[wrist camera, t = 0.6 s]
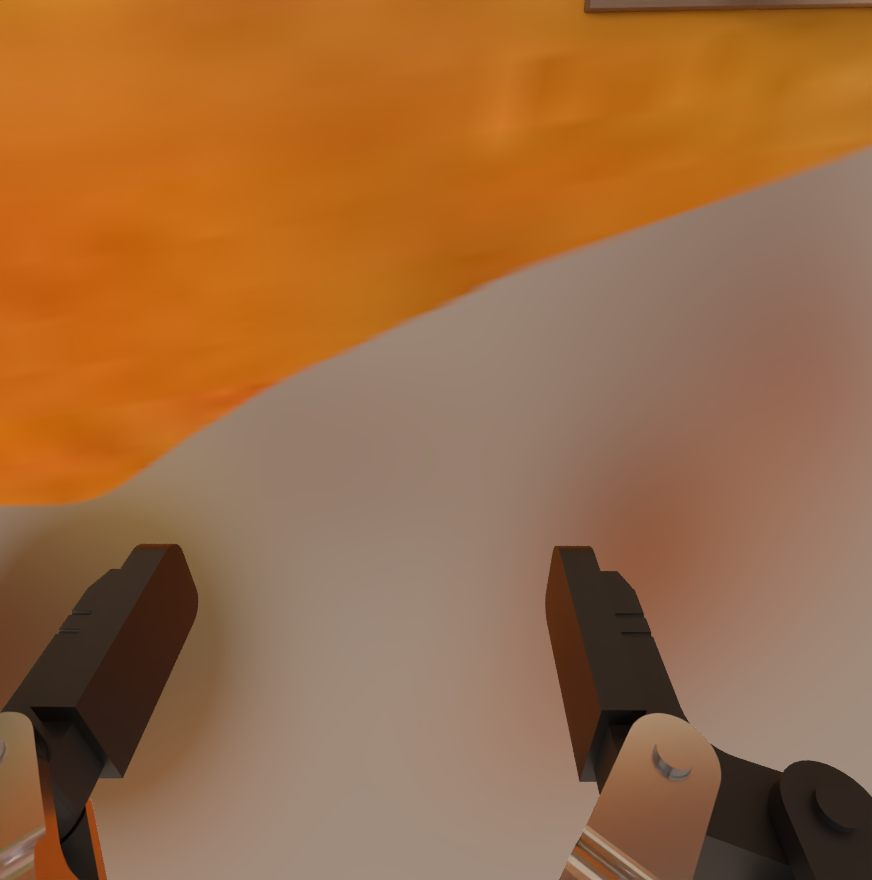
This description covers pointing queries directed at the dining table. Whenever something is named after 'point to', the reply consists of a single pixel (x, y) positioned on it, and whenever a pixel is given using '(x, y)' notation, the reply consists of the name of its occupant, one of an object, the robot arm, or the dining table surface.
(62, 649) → the robot arm
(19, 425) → the dining table surface
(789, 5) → the board
